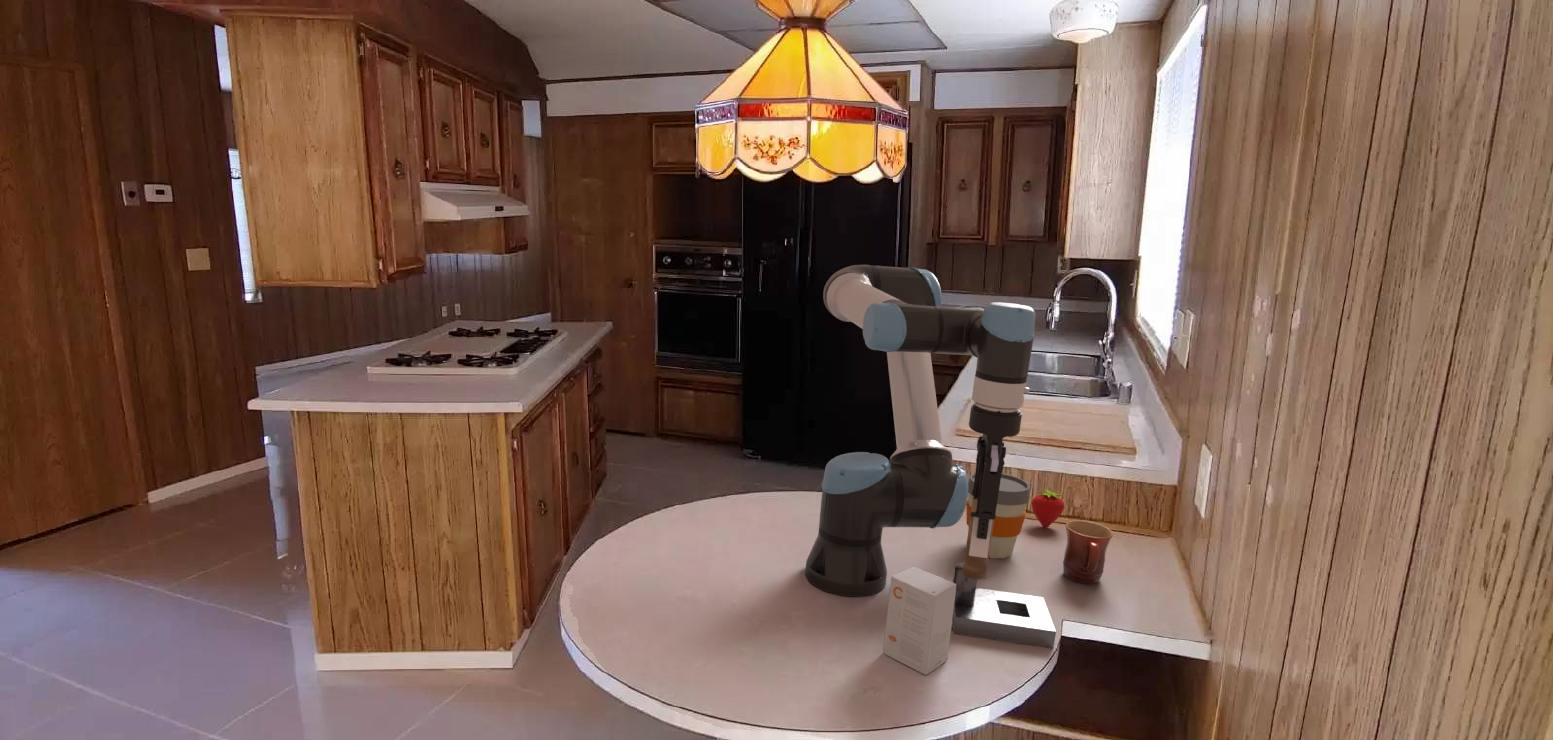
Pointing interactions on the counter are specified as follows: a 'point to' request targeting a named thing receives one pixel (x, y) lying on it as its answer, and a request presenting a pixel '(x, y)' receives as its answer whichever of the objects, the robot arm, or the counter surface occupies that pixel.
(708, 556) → the counter surface
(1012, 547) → the reusable coffee cup
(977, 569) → the wooden cylinder
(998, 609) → the square hole fixture
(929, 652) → the small box
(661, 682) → the counter surface
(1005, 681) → the counter surface
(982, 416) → the robot arm
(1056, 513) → the strawberry
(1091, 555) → the mug
